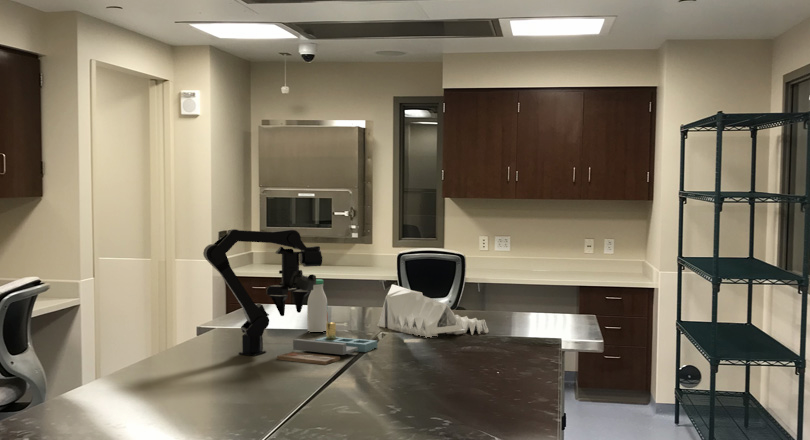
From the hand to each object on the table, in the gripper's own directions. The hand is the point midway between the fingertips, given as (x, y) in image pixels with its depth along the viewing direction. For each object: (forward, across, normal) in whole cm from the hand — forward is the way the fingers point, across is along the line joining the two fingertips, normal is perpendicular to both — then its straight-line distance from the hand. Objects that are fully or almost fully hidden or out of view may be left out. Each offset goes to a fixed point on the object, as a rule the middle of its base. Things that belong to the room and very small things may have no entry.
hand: (290, 314), depth 241 cm
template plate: (+12, -10, -14) cm, 21 cm away
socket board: (+12, +12, -14) cm, 22 cm away
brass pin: (+12, +12, -8) cm, 19 cm away
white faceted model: (+13, +61, -23) cm, 67 cm away
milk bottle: (+12, +35, +13) cm, 39 cm away
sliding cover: (+11, 0, -14) cm, 18 cm away
